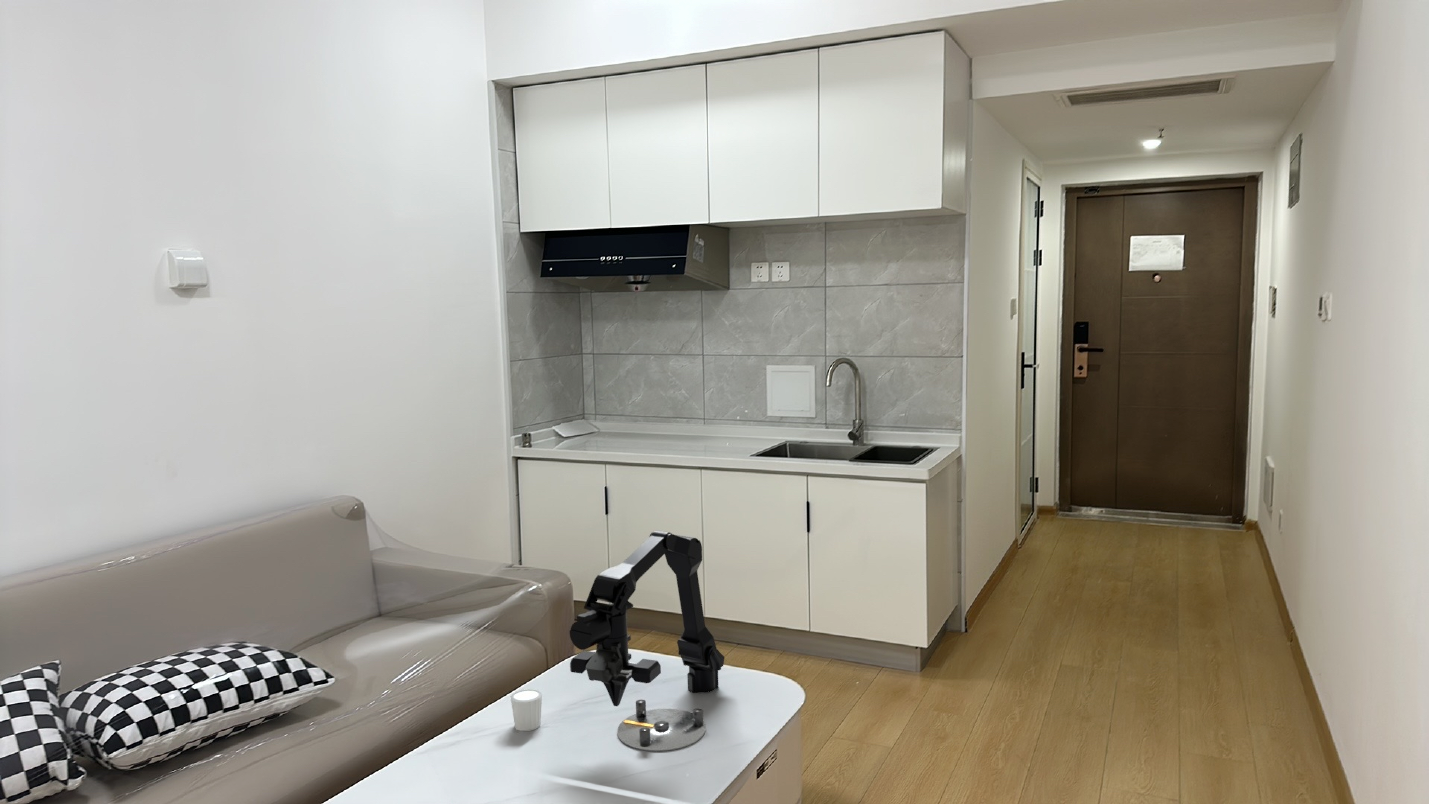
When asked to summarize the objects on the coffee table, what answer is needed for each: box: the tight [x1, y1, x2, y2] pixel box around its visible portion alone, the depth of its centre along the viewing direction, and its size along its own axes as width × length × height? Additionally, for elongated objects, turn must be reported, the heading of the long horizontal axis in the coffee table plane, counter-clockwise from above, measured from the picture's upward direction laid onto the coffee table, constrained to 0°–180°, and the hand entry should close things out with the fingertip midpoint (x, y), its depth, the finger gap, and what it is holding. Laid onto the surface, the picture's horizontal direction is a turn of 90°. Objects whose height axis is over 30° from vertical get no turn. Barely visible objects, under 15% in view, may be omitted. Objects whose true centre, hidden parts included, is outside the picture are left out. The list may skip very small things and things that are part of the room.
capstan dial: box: [617, 699, 707, 752], centre depth 203 cm, size 19×19×4 cm
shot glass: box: [510, 688, 543, 732], centre depth 208 cm, size 7×7×7 cm
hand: (616, 705), depth 197 cm, fingers closed
